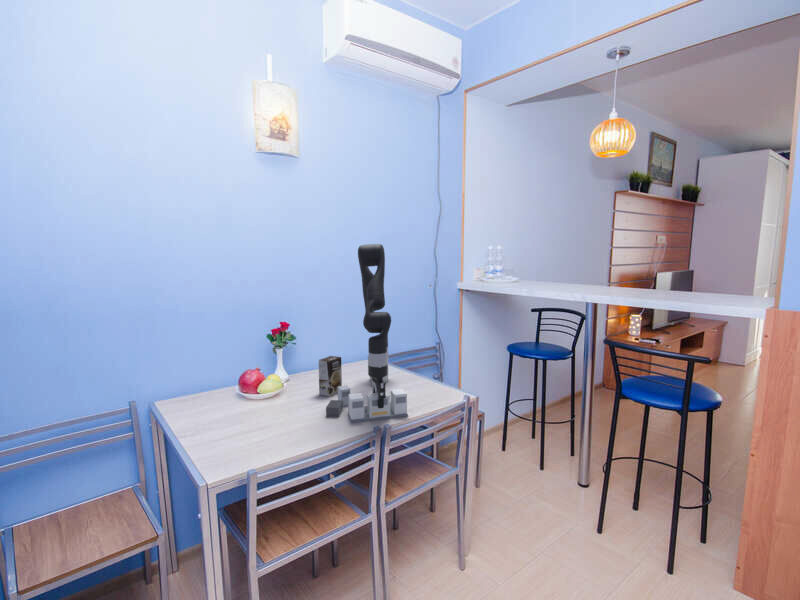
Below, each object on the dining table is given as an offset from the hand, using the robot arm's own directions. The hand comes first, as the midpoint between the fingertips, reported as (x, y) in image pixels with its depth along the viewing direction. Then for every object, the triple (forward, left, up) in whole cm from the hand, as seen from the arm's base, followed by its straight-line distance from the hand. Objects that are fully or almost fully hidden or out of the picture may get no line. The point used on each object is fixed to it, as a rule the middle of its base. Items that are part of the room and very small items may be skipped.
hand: (378, 403), depth 161 cm
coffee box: (-32, -15, -5) cm, 36 cm away
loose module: (0, 0, -4) cm, 4 cm away
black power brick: (-8, -16, -5) cm, 19 cm away
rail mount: (-1, 0, -5) cm, 5 cm away
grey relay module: (-17, -11, -5) cm, 21 cm away
